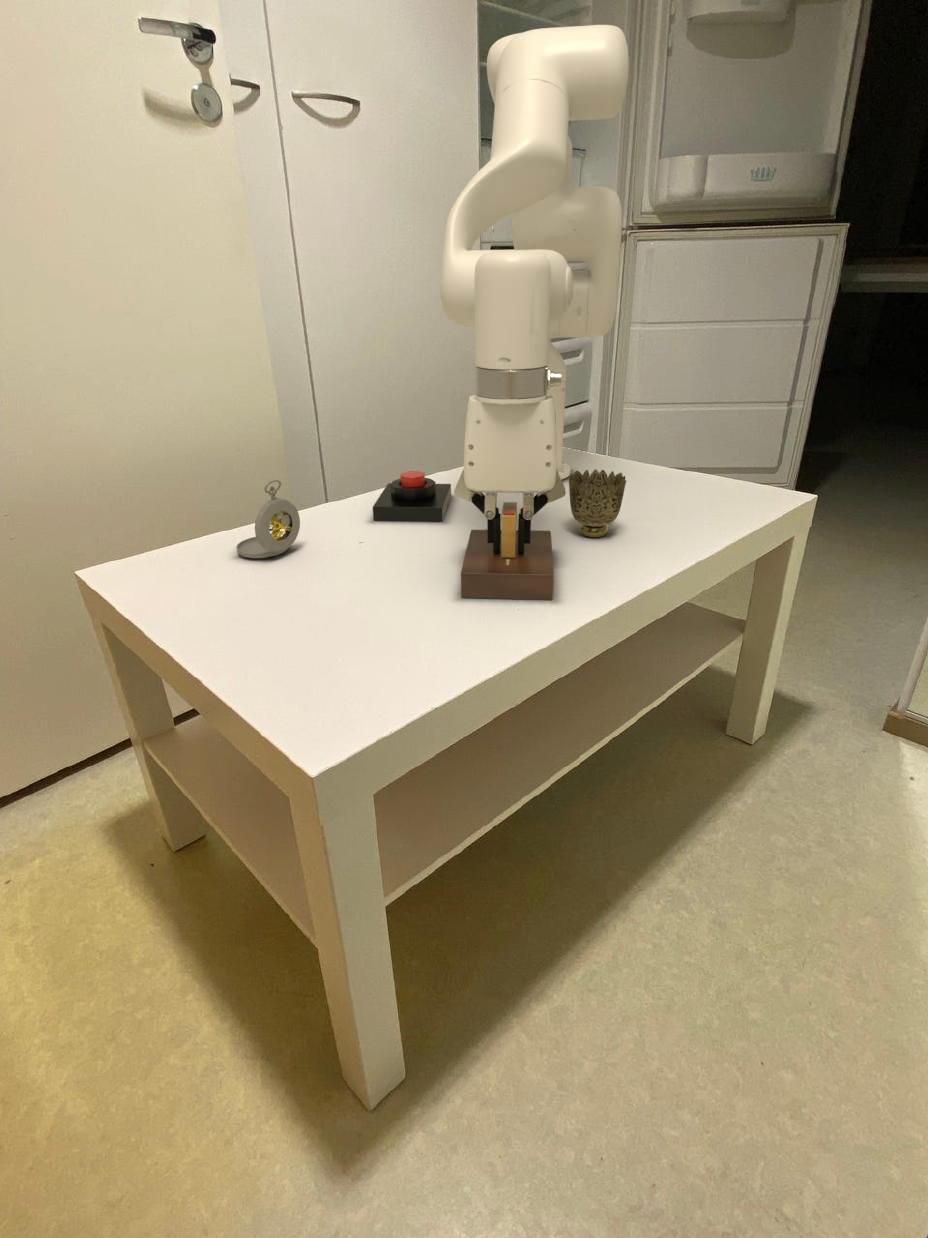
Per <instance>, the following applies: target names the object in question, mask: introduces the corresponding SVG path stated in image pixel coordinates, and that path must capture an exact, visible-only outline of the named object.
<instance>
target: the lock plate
mask: <svg viewBox="0 0 928 1238" xmlns="http://www.w3.org/2000/svg"><path fill="white" fill-rule="evenodd" d="M467 541H468V542H467V546H466V550H465V554H464V557H463V558H464V559H463V562H462V567H461V571H460V597H461V599H492V600H493V599H494V600H533V601H535V600H536V601H542V600H543V601H553V593H554V561H553V544H552V531H551V530H539V529H538V530H535V529H534V530H532V529H531V536H530V544H524V553H520V552H518V529H517V530H516V554H515V558H502V557H501V535H500V551H498V553H493V543H488V537H487V529H470V533H469V538H468V540H467Z"/></svg>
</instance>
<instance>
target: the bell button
mask: <svg viewBox="0 0 928 1238" xmlns="http://www.w3.org/2000/svg"><path fill="white" fill-rule="evenodd" d="M400 478H401V486H404V487H419V486H423V485H425V478H426V473H425V472H423V471H419V470H408V471H404V472H401V473H400V477H399V479H400Z"/></svg>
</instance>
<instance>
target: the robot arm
mask: <svg viewBox="0 0 928 1238" xmlns="http://www.w3.org/2000/svg"><path fill="white" fill-rule="evenodd" d="M629 73H630V58H629V48H628V43H627V39H626V36H625V33H624V32H623V30H622V29H621V28H620V27H619V26H616V25H612V24H589V25H575V26H559V27H558V26H557V27H545V28H544V27H543V28H535V29H530V30H526V31H523V32H518V33H512V34H510V35H506V36H504V37H501V38H499V39H498V40H496V41H495V42H494V43H493V44H492V45H491V46H490V48H489V50H488V53H487V57H486V75H487V83H488V87H489V88H488V89H489V91H490V95H491V98H492V101H493V104H494V112H493V123H492V124H493V125H492V136H491V151H490V152H491V153H490V160H489V161H488V162H487V163H486V164H485V165H484V166H483V167H482V168H480V169H479V171H477V172H476V174H475V175H473V177H472V178H471V179H470V180H469V182H468V183H467V184H466V185H465V187H464V188H463V190H462V191H461V192H460V194H459V195H458V197H457V199H456V200H455V202H454V203H453V205H452V207H451V209H450V210H449V211H450V212H449V214H448V217H447V219H446V224H445V227H444V233H443V243H442V244H443V245H442V254H441V265H440V276H439V277H440V279H439V280H440V281H439V293H440V295H439V296H440V302H441V306H442V309H443V311H444V314H445V316H446V317H447V318H448V320H450V321H451V322H452V323H454V324H456V325H459V326H464V327H465V326H466V327H474V364H475V367H474V375H475V376H474V384H475V386H474V389H475V390H474V391H475V394H473V395H470V396H469V398H468V401H467V409H466V416H465V429H464V442H463V469H462V472H461V473H460V475H459V478H458V481H457V483H456V485H455V487H454V490H453V493H454V495H455V496H456V497H458V498H460V499H463V500H465V501H467V502H469V503H470V502H471V503H472V504H473V505H474V506H475V508H477V509H478V510H479V511H480V512H481V513H482V514H483V516H484V518H485V519H486V520H487V521H486V522H487V529H486V530H487V537H488V543H493V553H498V551H500V535H501V524H502V512H500V511H499V507H498V506H497V502H498V501H497V500H498V499H497V498H498V493H504V494H506V493H508V494H511V493H512V494H522V507H521V508H520V513H518V519H517V523H518V525H517V530H518V552H520V553H524V544H530V536H531V530H532V520H533V518H534V516H535V515H536V514H537V513H538V512H540V511H541V510H542V509H543V508H544V507H545V506H546V505H547V504H548V503H552V502H554V501H557V500H560V499H562V498H564V497H565V496H566V493H567V492H566V487H565V485H564V482H563V480H565V479H567V478H568V477H569V475H570V473H571V474H572V468H571V466H570V465H569V464H568V463H567V462H563V455H564V454H563V453H564V452H563V451H564V433H565V432H564V431H565V412H566V411H565V409H566V391H567V390H566V389H567V388H566V387H567V367H566V366H567V365H566V362H565V360H564V357H563V356H562V355H561V353H560V352H559V350H558V349H557V348H556V347H555V345H554V344H553V343H552V339H553V340H554V339H560V338H598V337H602V336H605V335H606V334H608V333H609V332H610V331H611V329H612V327H613V326H614V323H615V319H616V312H617V303H618V289H619V276H620V275H619V274H620V261H621V246H622V245H621V244H622V233H623V231H622V230H623V212H622V210H623V209H622V203H621V200H620V196H619V195H618V193H617V192H616V191H615V190H614V189H612V188H610V187H607V186H601V185H600V186H599V185H598V186H596V185H595V186H591V185H590V186H574V185H573V181H572V173H573V155H574V153H573V144H572V140H571V138H570V136H569V126H570V125H569V123H570V122H573V121H574V122H575V121H594V120H611V119H614V118H615V117H616V116H617V115H618V114H619V112H620V111H621V109H622V107H623V104H624V102H625V98H626V95H627V89H628V83H629ZM509 217H511V236H512V245H513V249H476V250H473V247H474V245H475V244H476V241H477V240H478V239H479V238H480V237H481V236H482V235H483V234H484V233H485V232H486V231H487V230H488V229H490V228H491V227H492V226H494V225H496V224H497V223H499V222H501V221H503V220H505V219H507V218H509ZM569 262H571V263H572V262H582V263H585V264H586V265H587V266H588V268H589V269H587V270H586V269H584V270H583V269H581V270H579V269H577V270H573V269H572V268H571V267H570V266H569V264H568V263H569Z"/></svg>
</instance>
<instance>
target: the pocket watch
mask: <svg viewBox="0 0 928 1238" xmlns="http://www.w3.org/2000/svg"><path fill="white" fill-rule="evenodd" d="M273 483H278V486H277V488H275V486H270V484H273ZM269 486H270V487H269ZM268 487H269V490H267V489H268ZM281 487H282V482H281V480H280V479H273V480H271V481H269V482H267V483H266V484H265V486H264V489H263V490H264V492H265V493H266V494H268V495H269V496H270V498H271V499H269V500H268V501H266V502H265V503H264V504H263V505H262V506H261V507H260V509H259V510H258V512H257V514H256V517H255V521H254V533H255V536H253V537H249V538H246V539H244V540H241V541H240V542H239V543H237V544H236V546H235V547H236V548H235V549H236V552H237V554H238V555H240V556H242V557H244V558H247V559H249V558H250V559H266V558H271V557H275V556H279V555H282V554H283V553H285V552H286V551H288V549H289V548H290V547H291V546H292V545H293V544H294V542H295V541H296V540H297V537H298V535H299V532H300V528H301V518H300V514H299V511H298V509H297V507H296V506H295V505H294V503H292V502H291V501H290V500H288V499H286V498H282V497H281V498H280V497H276V495H277V493H278V491H279V490H280V489H281ZM283 530H284V531H283Z"/></svg>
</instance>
